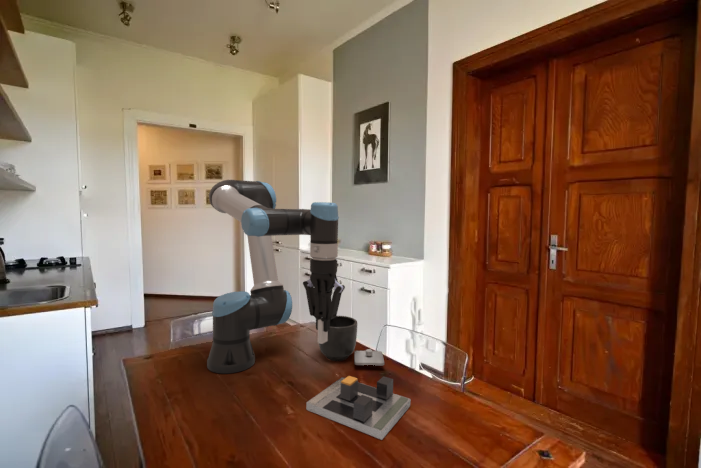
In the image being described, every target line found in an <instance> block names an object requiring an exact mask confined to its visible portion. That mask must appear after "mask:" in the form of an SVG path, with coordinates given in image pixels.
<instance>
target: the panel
mask: <svg viewBox="0 0 701 468" xmlns="http://www.w3.org/2000/svg"><path fill="white" fill-rule="evenodd" d="M345 378H346V377H343V376H341V378H340V377H339V379H337V380H335V382H333V383H332V384H331V385H329V386H327V387H326V388H325V389H323V390H322V391H320V392H319V393H317V394H316V395H315V396H313V397H312V398H310V399H309V400H308V401H306V402H305V403H306V405H305V406H306V409H305V410H306V411H308V412H311V413H314V414H315V415H316V414H317V415H319V416H321V417H323V418H326V419H328V420H330V421H333V422H336V423H338V424H340V425H344V426H346V427H347V428H348V427H349V428H351V429H353V430H355V431H359V432H361V433H363V434H366V435H368V436H371V437H374V438H375V439H378V440H381V441H382V440H384V438H386V436H387V435H388V433H389V432H391V430H392V429H393V427H394V426H395V425H396V424H397V423H398V421H399V420H400V419H401V418H402V417H403V416H404V414H405V413H406V412H407V411H408V410H409V409H410V407H411V400H412V399H411V398H409V397H406V396H403V395H399V394H397V393H396V394H395V393H394V378H390V377H387V376H382V377H381V378H380V379H379V380H377V381H376V387H375V386H371V385H367V384H365V383H363V382H359V381H358V395H356V396H355V397H354V398H353V399H352V400H350V401H349V400H346V399H343V398H340V392H341V381H342V380H344V379H345Z"/></svg>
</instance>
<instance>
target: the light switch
mask: <svg viewBox="0 0 701 468" xmlns="http://www.w3.org/2000/svg"><path fill="white" fill-rule="evenodd" d="M353 353H354V356H353V357H354V365H356V366H364V365H367V366H368V365H373V367H375V366H382V367H383V366H384V365H385V360H384V355H383V352H382V351H380V350H379V351H378V350H372V349H371V348H369V349H368V348H367V349H365V350H354V351H353ZM374 365H375V366H374ZM368 367H369V366H368Z"/></svg>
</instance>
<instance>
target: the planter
mask: <svg viewBox="0 0 701 468" xmlns="http://www.w3.org/2000/svg"><path fill="white" fill-rule="evenodd" d="M357 334H358V320H357V319H355V318H353V317H351V316H346V315H337V316H336V317H335V318H333V319H331V320H330V330H329V331H328V341H327V342H325V343H323V344H320V343H318V346H319V350H320V352H321V353H322V355H323V356H325V358H326V359H327V360H330V361H332V362H342V361H346V360H347V359H348V358H349V356H351V355H352V354H353V353H354V352H355V348H356V345H357V336H358V335H357Z"/></svg>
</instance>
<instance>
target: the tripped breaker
mask: <svg viewBox="0 0 701 468" xmlns="http://www.w3.org/2000/svg"><path fill="white" fill-rule="evenodd" d="M344 378H345V379H344V380H342V381H341V392H340V398H343V399H346V400H349V401H350V400H352V399H353V398H354V397H355V396H356V395H358V382H359V380H358V378H357V377H355V376H351V375H348V376H347V377H344Z"/></svg>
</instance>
